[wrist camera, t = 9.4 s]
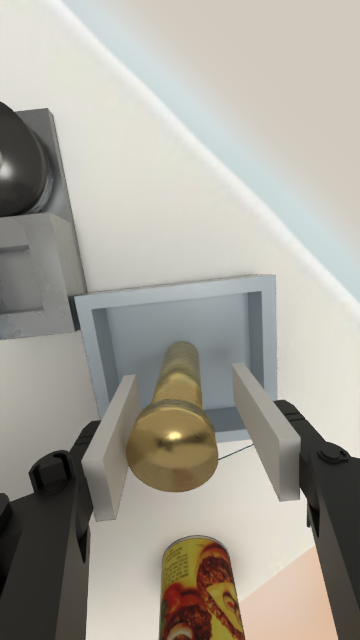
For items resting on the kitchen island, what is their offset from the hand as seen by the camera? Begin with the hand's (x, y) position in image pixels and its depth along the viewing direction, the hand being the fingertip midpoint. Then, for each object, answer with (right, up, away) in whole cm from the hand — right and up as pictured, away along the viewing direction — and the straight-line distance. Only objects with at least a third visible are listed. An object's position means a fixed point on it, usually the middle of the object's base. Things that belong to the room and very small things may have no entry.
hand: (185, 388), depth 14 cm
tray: (0, +1, +6) cm, 6 cm away
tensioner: (-13, +11, +3) cm, 17 cm away
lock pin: (0, +1, +5) cm, 5 cm away
